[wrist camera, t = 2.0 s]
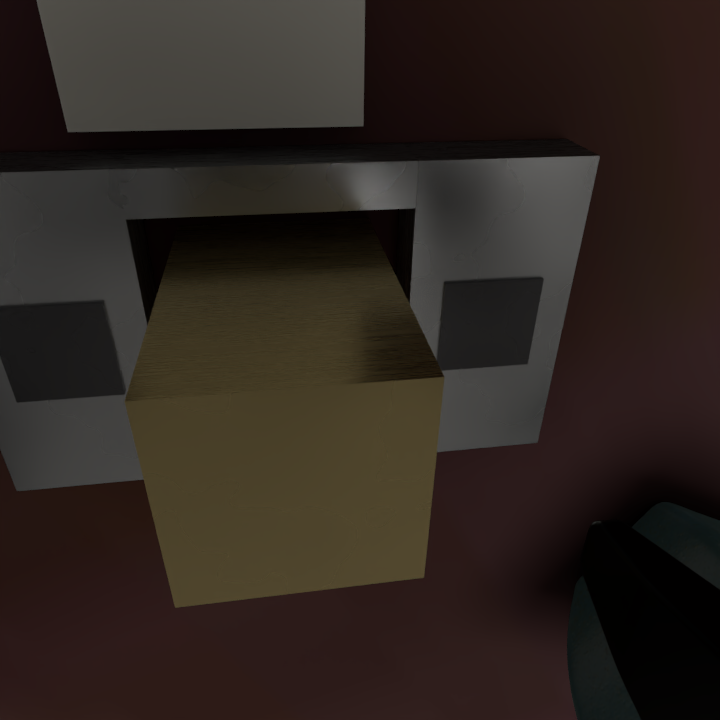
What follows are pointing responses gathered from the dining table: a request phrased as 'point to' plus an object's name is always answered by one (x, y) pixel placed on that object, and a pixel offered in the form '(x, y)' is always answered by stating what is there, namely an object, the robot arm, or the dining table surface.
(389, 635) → the dining table surface
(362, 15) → the pad
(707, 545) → the flower pot
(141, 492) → the dining table surface
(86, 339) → the grey flat frame
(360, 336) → the brown wooden block
